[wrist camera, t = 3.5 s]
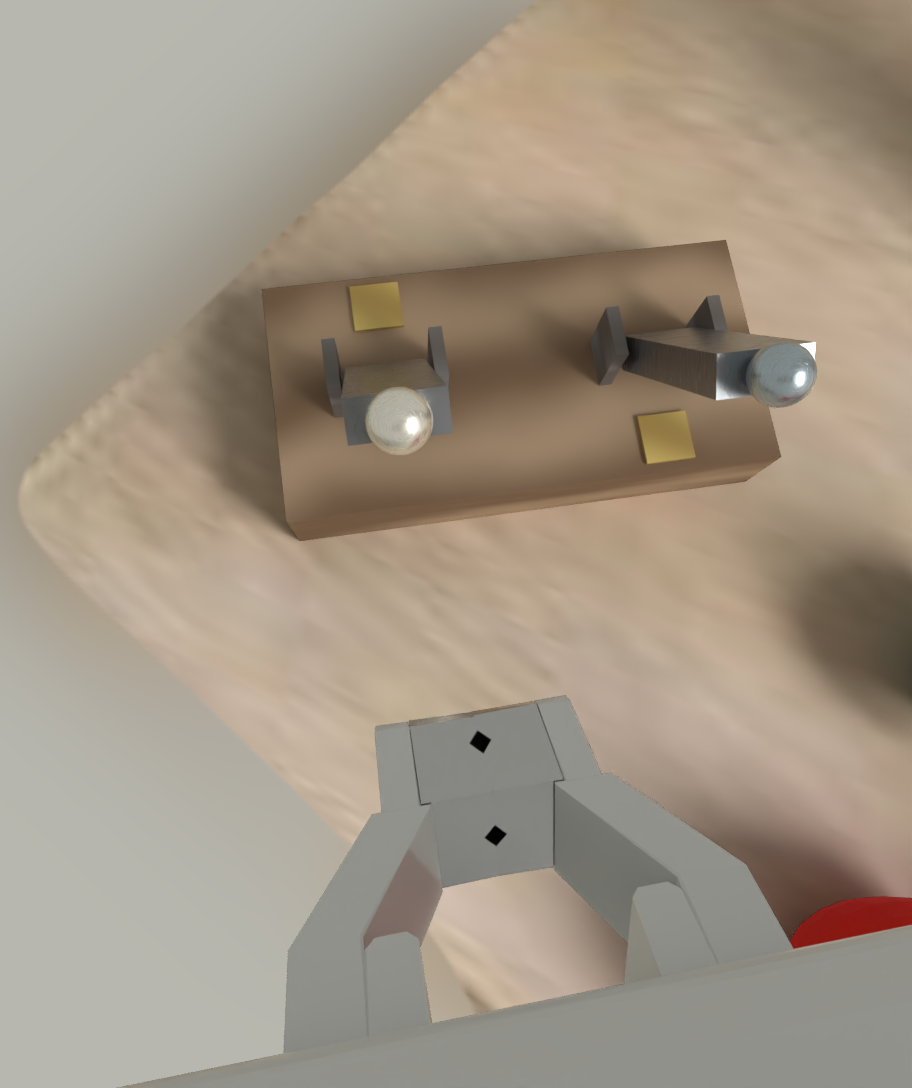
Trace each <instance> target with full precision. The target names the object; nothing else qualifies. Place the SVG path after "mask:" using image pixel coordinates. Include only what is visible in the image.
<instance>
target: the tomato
mask: <svg viewBox="0 0 912 1088" xmlns="http://www.w3.org/2000/svg"><path fill="white" fill-rule="evenodd" d="M908 925H912V898H901V897H867V898H859V899H852V900H844V901H841V902H838V903H836V904H833V905H830V906H828V907H825V908H822V909H820V910H819V911H817V912H816V913H815V914H813V915H812V916H811V917H809V918H808V919H807V920H805V921H804V922H803V923H802V924H801V925H800V926H799V928H798V929H797V931H796V933H795V934H794V936H793V937H792V939H791V940H790V943H791V945H792V947H793V949H796V948H801V947H806V946H810V945H815V944H820V943H825V942H830V941H835V940H840V939H845V938H850V937H854V936H859V935H864V934H869V933H874V932H879V931H884V930H889V929H893V928H898V927H903V926H908Z"/></svg>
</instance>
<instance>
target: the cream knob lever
mask: <svg viewBox="0 0 912 1088" xmlns="http://www.w3.org/2000/svg"><path fill="white" fill-rule="evenodd" d="M341 404H342V411H343V417H344V424H345V430H346V437H347V443H348V446H352V445H360V444H368V443H374V444H375V446H377V447H378V448H379V449H380V450H382V451H384V452H386V453H389V454H392V455H407V454H410V453H413V452H415V451H417V450H418V449H420V448H421V447H422V446H423V445H424V444H425V443H426V442H427V440H428V439H429V437H430V436H433V435H441V434H449V433H453V429H452V419H451V410H450V400H449V390H448V385H447V384H446V383H445V382H444V381H443V380H442V378H441V377H440V376H439V375H438V374H437V373H436V372H435V370H434V369H433V368H432V367H431V366H430V365H429V364H428V362H427V361H426V360H425V359H424V358H423V359H414V360H406V361H397V362H388V363H380V364H371V365H362V366H354V367H346V371H345V377H344V382H343V388H342V394H341Z"/></svg>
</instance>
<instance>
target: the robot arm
mask: <svg viewBox="0 0 912 1088" xmlns="http://www.w3.org/2000/svg"><path fill="white" fill-rule="evenodd" d="M409 727H410V730H409ZM410 735H411V737H410ZM411 742H412V744H411ZM375 744H376V755H377V767H378V778H379V790H380V801H381V813H377V814H372V815H371V816H370V818H369V820H368V821H367V823H366V825H365V826H364V828H363V830H362V831H361V833H360V834H359V836H358V838H357V839H356V841H355V843H354V844H353V846H352V847H351V849H350V851H349V852H348V854H347V856H346V857H345V859H344V861H343V862H342V864H341V865H340V867H339V869H338V870H337V872H336V874H335V875H334V877H333V878H332V880H331V882H330V884H329V885H328V887H327V888H326V890H325V892H324V893H323V895H322V896H321V898H320V900H319V901H318V903H317V904H316V906H315V908H314V909H313V911H312V913H311V914H310V916H309V918H308V919H307V921H306V922H305V924H304V926H303V927H302V929H301V931H300V932H299V934H298V936H297V937H296V939H295V940H294V942H293V944H292V945H291V947H290V948H289V950H288V963H287V985H286V1008H285V1031H284V1054H279V1055H274V1056H270V1057H265V1058H260V1059H255V1060H250V1061H245V1062H240V1063H235V1064H231V1065H226V1066H221V1067H216V1068H211V1069H207V1070H201V1071H197V1072H191V1073H187V1074H182V1075H177V1076H173V1077H167V1078H163V1079H157V1080H152V1081H147V1082H143V1083H138V1084H133V1085H128V1086H123V1087H118V1088H912V925H908V926H903V927H898V928H893V929H889V930H884V931H879V932H874V933H869V934H864V935H859V936H854V937H850V938H845V939H840V940H835V941H830V942H825V943H820V944H815V945H810V946H806V947H801V948H796V949H793V947H792V945H791V943H790V942H789V940H788V938H787V936H786V934H785V933H784V931H783V929H782V927H781V926H780V924H779V922H778V920H777V918H776V917H775V915H774V913H773V911H772V910H771V908H770V906H769V904H768V902H767V901H766V899H765V897H764V895H763V894H762V892H761V890H760V888H759V886H758V885H757V883H756V881H755V879H754V878H753V876H752V874H751V872H750V870H749V869H748V867H747V865H746V864H745V863H743V862H742V861H740V860H739V859H737V858H736V857H734V856H733V855H731V854H730V853H729V852H727V851H726V850H724V849H723V848H721V847H720V846H718V845H717V844H715V843H714V842H712V841H711V840H709V839H708V838H707V837H705V836H704V835H702V834H701V833H699V832H698V831H696V830H695V829H693V828H692V827H690V826H689V825H687V824H686V823H684V822H683V821H682V820H680V819H679V818H677V817H676V816H674V815H673V814H671V813H670V812H668V811H667V810H665V809H664V808H662V807H661V806H660V805H658V804H657V803H655V802H654V801H652V800H651V799H649V798H648V797H646V796H645V795H643V794H642V793H640V792H639V791H638V790H636V789H635V788H633V787H632V786H630V785H629V784H627V783H626V782H624V781H623V780H621V779H620V778H618V777H617V776H616V775H614V774H613V773H606V774H602V773H601V771H600V769H599V766H598V764H597V762H596V759H595V757H594V755H593V752H592V750H591V748H590V745H589V743H588V741H587V738H586V736H585V734H584V731H583V729H582V727H581V724H580V722H579V720H578V717H577V715H576V713H575V710H574V708H573V706H572V703H571V701H570V699H569V698H568V697H567V696H566V695H564V696H558V697H552V698H546V699H541V700H535V701H534V702H533V701H530V702H524V703H519V704H513V705H507V706H501V707H496V708H490V709H484V710H478V711H472V712H468V713H461V714H454V715H447V716H439V717H432V718H425V719H418V720H411V721H409V725H408V722H402V723H394V724H387V725H379V726H375ZM412 750H413V751H412ZM552 867H555V871H556V872H557V873H558V874H559V875H560V876H561V877H562V878H563V879H564V880H565V881H566V882H567V883H568V884H569V885H570V886H571V887H572V888H573V889H574V890H575V891H576V892H577V893H578V894H579V895H580V896H581V897H582V898H583V899H584V900H585V901H586V902H587V903H588V904H589V905H590V906H591V907H592V908H593V909H594V910H595V911H596V912H597V913H598V914H599V915H600V916H601V917H602V918H603V919H604V920H605V921H606V922H607V923H608V924H609V925H610V926H611V927H612V928H613V929H614V930H615V931H616V932H617V933H618V934H619V935H620V936H621V937H622V938H623V939H624V940H625V941H626V942H627V943H628V948H627V958H626V968H625V978H624V984H621V985H616V986H611V987H606V988H601V989H597V990H592V991H587V992H582V993H577V994H572V995H567V996H562V997H558V998H553V999H548V1000H543V1001H538V1002H533V1003H528V1004H523V1005H519V1006H514V1007H509V1008H504V1009H499V1010H494V1011H489V1012H484V1013H480V1014H475V1015H470V1016H465V1017H461V1018H455V1019H450V1020H445V1021H440V1022H436V1023H432V1019H431V1012H430V1007H429V1000H428V993H427V987H426V981H425V974H424V968H423V961H422V955H421V949H420V947H421V945H422V942H423V940H424V937H425V935H426V932H427V930H428V927H429V925H430V922H431V920H432V917H433V915H434V912H435V910H436V907H437V905H438V902H439V900H440V897H441V895H442V892H443V891H442V888H445V887H449V886H454V885H459V884H463V883H468V882H472V881H477V880H482V879H486V878H491V877H496V876H501V875H508V874H514V873H520V872H527V871H533V870H539V869H546V868H552Z"/></svg>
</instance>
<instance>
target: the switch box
mask: <svg viewBox="0 0 912 1088" xmlns="http://www.w3.org/2000/svg"><path fill="white" fill-rule="evenodd" d="M262 296H263V306H264V315H265V325H266V334H267V344H268V353H269V363H270V372H271V382H272V391H273V401H274V410H275V420H276V429H277V439H278V448H279V458H280V467H281V477H282V486H283V496H284V505H285V515H286V522H287V524H288V525H289V526H290V528H291V529H292V531H293V532H294V534H295V535H296V536H297V538H298V539H299V541H304V540H311V539H319V538H326V537H333V536H341V535H348V534H356V533H363V532H371V531H378V530H386V529H393V528H401V527H408V526H416V525H423V524H431V523H438V522H446V521H453V520H460V519H468V518H475V517H483V516H490V515H498V514H505V513H513V512H520V511H528V510H535V509H543V508H550V507H558V506H565V505H572V504H580V503H587V502H595V501H602V500H610V499H617V498H625V497H632V496H640V495H647V494H655V493H662V492H670V491H677V490H684V489H692V488H699V487H707V486H714V485H722V484H729V483H737V482H744V481H747V480H748V479H750V478H751V477H753V476H754V475H756V474H757V473H758V472H760V471H761V470H763V469H764V468H766V467H767V466H768V465H770V464H771V463H773V462H774V461H776V460H777V459H779V458H780V457H781V454H780V450H779V446H778V442H777V438H776V434H775V431H774V427H773V423H772V419H771V415H770V411H769V407H768V406H766V405H764V404H762V403H760V402H758V401H757V400H756V399H755V398H754V397H753V396H747V397H739V398H731V399H722V400H714V399H710V398H707V397H704V396H701V395H698V394H695V393H692V392H689V391H686V390H683V389H679V388H676V387H673V386H670V385H667V384H664V383H661V382H658V381H655V380H652V379H649V378H645V377H642V376H639V375H636V374H633V373H630V372H627V371H624V370H622V365H623V363H624V362H625V360H626V358H627V357H628V355H629V351H628V347H627V342H626V337H625V335H630V334H639V333H648V332H656V331H665V330H674V329H682V328H691V327H698V328H706V329H714V330H722V331H730V332H738V333H746V334H750V333H749V329H748V325H747V321H746V317H745V313H744V309H743V305H742V301H741V297H740V293H739V290H738V286H737V282H736V278H735V274H734V270H733V266H732V262H731V258H730V254H729V250H728V246H727V243H726V240H721V241H711V242H702V243H693V244H683V245H674V246H664V247H655V248H645V249H636V250H627V251H617V252H608V253H598V254H589V255H579V256H570V257H561V258H551V259H542V260H532V261H523V262H514V263H504V264H495V265H485V266H476V267H466V268H457V269H448V270H438V271H429V272H419V273H410V274H400V275H391V276H382V277H372V278H363V279H353V280H344V281H334V282H325V283H316V284H306V285H297V286H287V287H278V288H268V289H262ZM423 358H424V359H425V360H426V361H427V362H428V364H429V365H430V366H431V367H432V368H433V369H434V370H435V372H436V373H437V374H438V375H439V376H440V377H441V378H442V380H443V381H444V382H445V383H446V384H447V385H448V390H449V400H450V410H451V419H452V429H453V433H449V434H441V435H433V436H430V437H429V439H428V440H427V442H426V443H425V444H424V445H423V446H422V447H421V448H420V449H418V450H417V451H415V452H413V453H410V454H407V455H392V454H389V453H386V452H384V451H382V450H380V449H379V448H378V447H377V446H375V444H374V443H368V444H360V445H352V446H348V443H347V437H346V430H345V424H344V417H343V411H342V404H341V394H342V388H343V382H344V377H345V371H346V367H354V366H362V365H371V364H380V363H388V362H397V361H406V360H414V359H423Z"/></svg>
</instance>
